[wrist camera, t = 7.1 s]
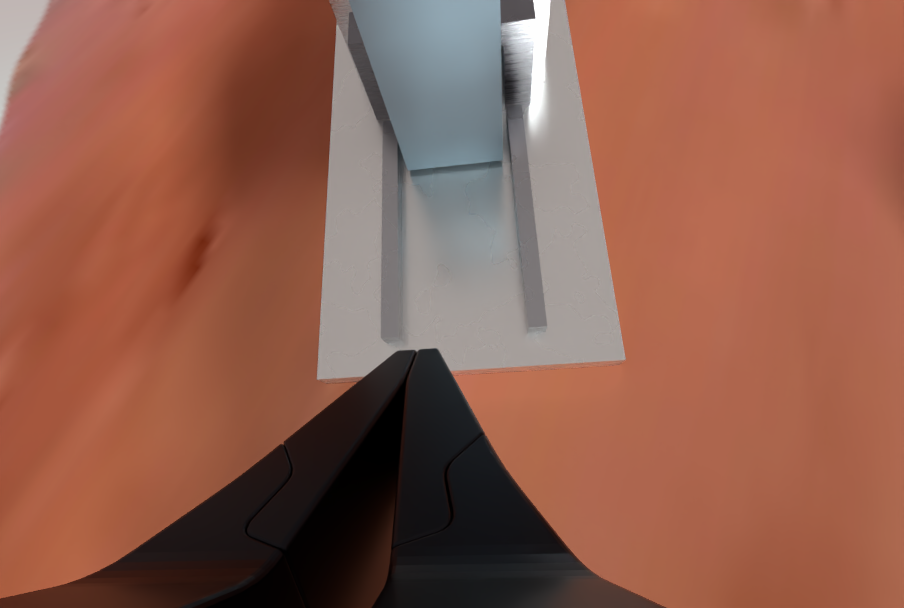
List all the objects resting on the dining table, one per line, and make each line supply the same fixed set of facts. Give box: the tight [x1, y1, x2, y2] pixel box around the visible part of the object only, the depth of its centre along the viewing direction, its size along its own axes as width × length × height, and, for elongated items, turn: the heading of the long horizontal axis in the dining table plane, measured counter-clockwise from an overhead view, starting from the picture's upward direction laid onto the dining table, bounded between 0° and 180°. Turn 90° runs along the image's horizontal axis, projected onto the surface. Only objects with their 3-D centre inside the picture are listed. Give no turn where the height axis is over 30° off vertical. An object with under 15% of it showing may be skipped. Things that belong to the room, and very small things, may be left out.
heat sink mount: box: [317, 0, 626, 383], centre depth 22 cm, size 24×14×7 cm, turn 3°
